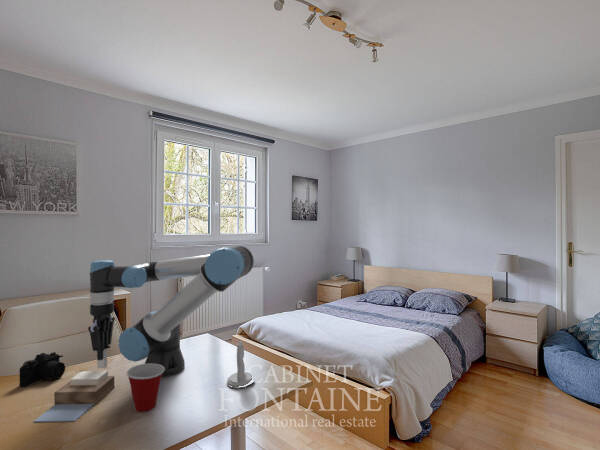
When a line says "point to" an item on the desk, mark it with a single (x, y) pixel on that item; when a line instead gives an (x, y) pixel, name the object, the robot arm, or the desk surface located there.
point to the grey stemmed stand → (239, 370)
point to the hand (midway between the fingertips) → (102, 367)
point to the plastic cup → (145, 385)
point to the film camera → (41, 369)
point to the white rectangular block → (89, 378)
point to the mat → (64, 413)
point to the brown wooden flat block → (84, 392)
